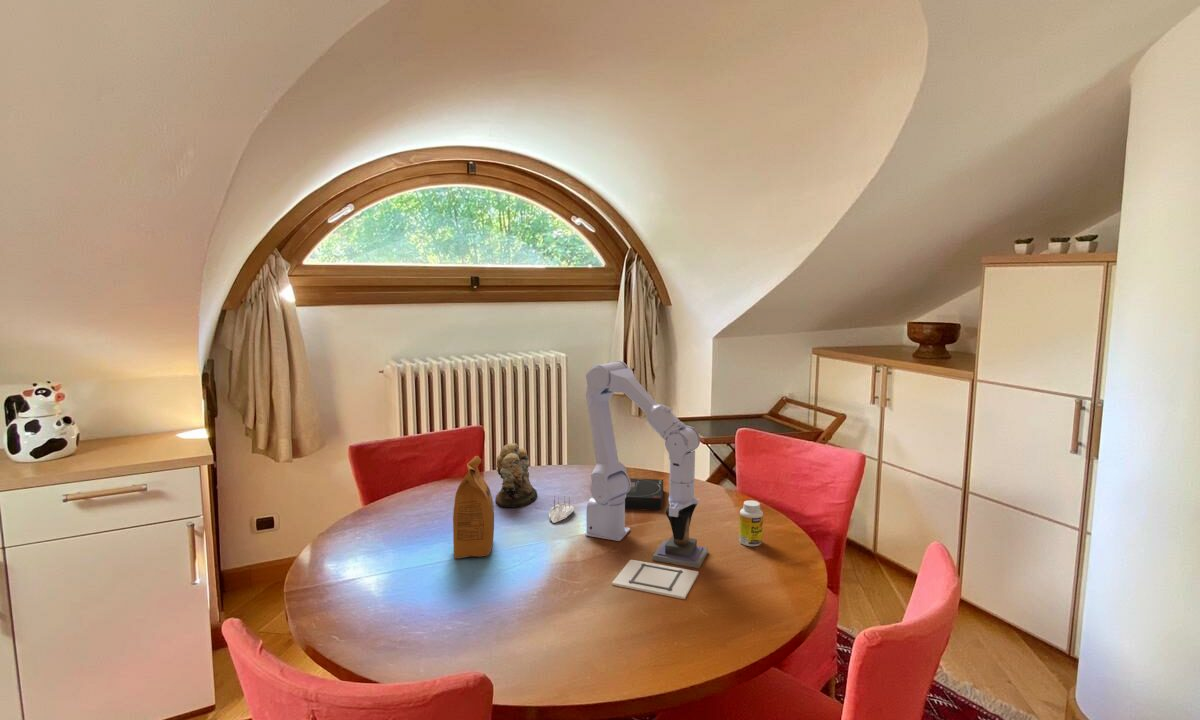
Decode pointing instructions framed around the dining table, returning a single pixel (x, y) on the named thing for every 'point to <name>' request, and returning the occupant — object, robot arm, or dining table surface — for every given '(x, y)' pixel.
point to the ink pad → (693, 561)
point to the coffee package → (473, 515)
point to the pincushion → (560, 511)
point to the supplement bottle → (751, 524)
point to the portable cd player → (644, 494)
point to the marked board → (656, 578)
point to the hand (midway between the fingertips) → (681, 535)
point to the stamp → (681, 545)
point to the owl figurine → (514, 477)
